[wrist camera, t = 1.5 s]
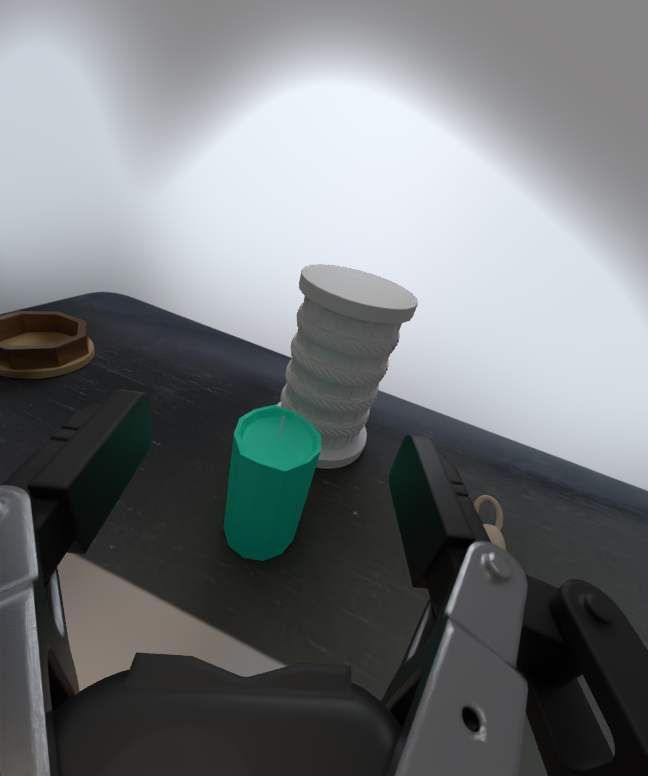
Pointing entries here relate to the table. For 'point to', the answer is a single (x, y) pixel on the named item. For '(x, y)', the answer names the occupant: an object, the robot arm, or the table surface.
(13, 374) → the candle pad
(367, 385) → the decorative container
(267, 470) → the candle
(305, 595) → the table surface
